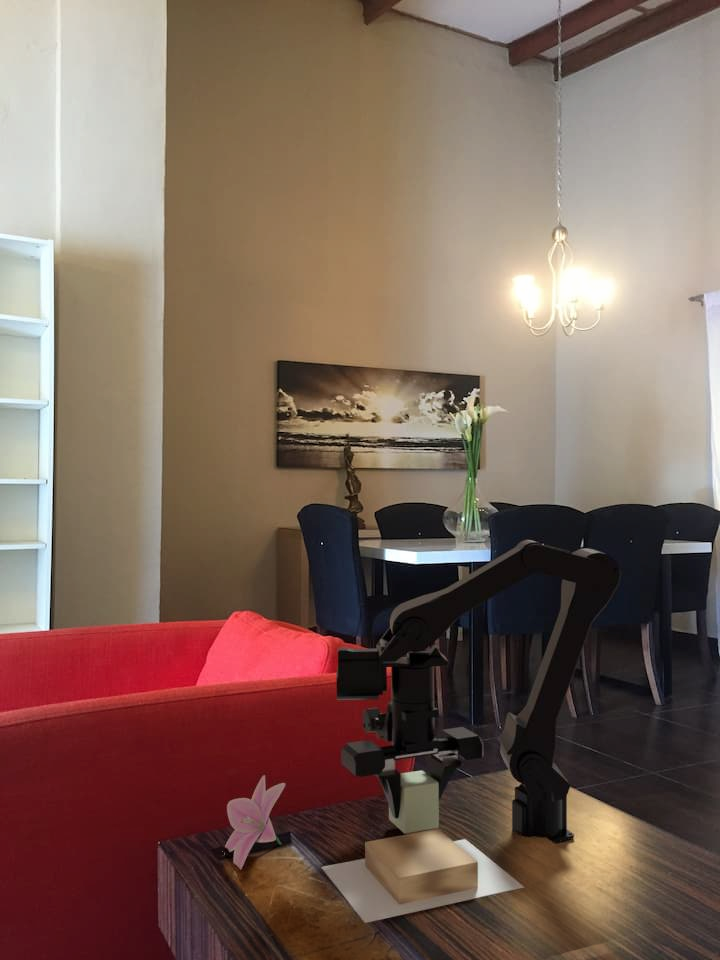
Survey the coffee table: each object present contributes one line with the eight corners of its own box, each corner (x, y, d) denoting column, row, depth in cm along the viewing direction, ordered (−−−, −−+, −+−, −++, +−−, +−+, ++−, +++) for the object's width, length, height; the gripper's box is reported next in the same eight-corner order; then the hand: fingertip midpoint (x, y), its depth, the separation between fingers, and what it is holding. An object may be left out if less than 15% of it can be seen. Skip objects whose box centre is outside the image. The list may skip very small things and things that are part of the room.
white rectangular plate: (465, 845, 114) (465, 839, 114) (524, 893, 101) (524, 886, 101) (321, 873, 107) (321, 866, 107) (365, 929, 94) (365, 922, 94)
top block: (422, 813, 120) (421, 770, 120) (438, 827, 115) (438, 782, 115) (388, 819, 118) (388, 775, 118) (404, 833, 114) (404, 788, 113)
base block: (438, 852, 110) (438, 828, 110) (477, 887, 101) (477, 861, 101) (365, 866, 107) (365, 842, 107) (399, 904, 97) (399, 877, 97)
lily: (233, 840, 119) (202, 788, 115) (312, 806, 119) (283, 753, 115) (232, 909, 108) (197, 854, 104) (319, 872, 107) (287, 816, 104)
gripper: (446, 677, 127) (447, 783, 128) (326, 691, 120) (327, 803, 121) (485, 696, 117) (486, 811, 117) (356, 712, 110) (357, 835, 110)
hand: (413, 814), depth 117 cm, fingers closed on top block, 5 cm apart
